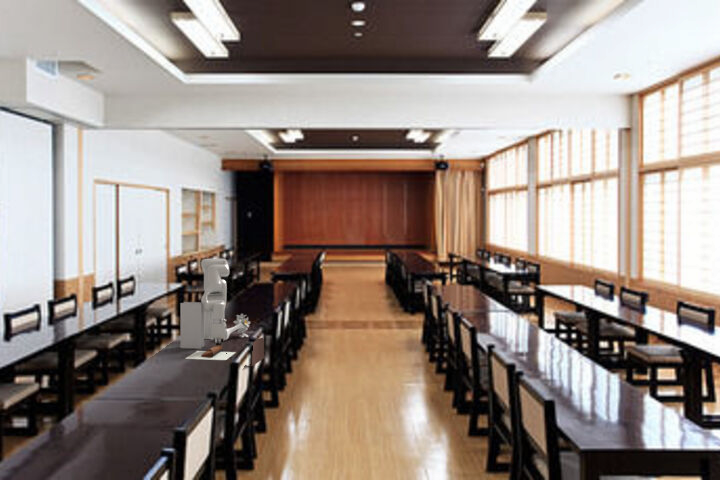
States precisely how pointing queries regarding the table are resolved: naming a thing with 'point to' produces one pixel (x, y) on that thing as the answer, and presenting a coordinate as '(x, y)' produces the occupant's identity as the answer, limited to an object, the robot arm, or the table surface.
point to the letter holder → (256, 351)
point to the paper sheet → (216, 357)
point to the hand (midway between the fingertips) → (218, 348)
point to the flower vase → (239, 326)
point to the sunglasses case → (212, 351)
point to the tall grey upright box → (192, 325)
